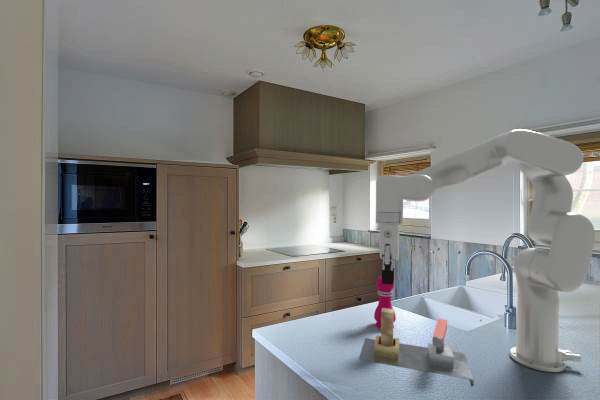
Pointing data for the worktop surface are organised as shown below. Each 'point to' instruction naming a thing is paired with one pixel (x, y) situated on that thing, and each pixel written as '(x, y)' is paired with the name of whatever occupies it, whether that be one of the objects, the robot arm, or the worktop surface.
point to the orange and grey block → (439, 334)
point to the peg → (387, 326)
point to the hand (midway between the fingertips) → (388, 282)
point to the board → (422, 359)
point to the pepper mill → (383, 301)
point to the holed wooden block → (386, 348)
